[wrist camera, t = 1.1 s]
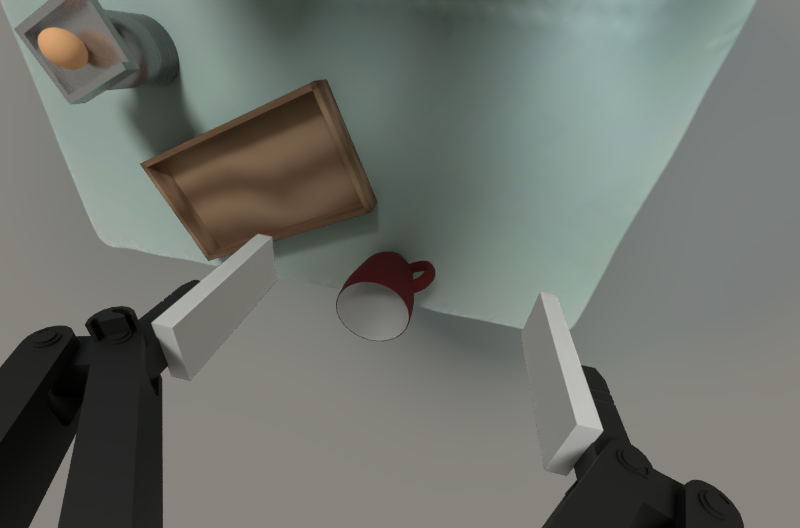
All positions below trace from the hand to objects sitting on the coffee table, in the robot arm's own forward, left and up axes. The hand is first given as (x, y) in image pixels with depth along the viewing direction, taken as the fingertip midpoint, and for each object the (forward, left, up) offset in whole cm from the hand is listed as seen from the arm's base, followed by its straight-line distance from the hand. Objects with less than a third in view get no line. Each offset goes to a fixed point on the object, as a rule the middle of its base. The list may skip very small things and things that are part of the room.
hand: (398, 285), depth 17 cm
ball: (-21, -26, -16) cm, 36 cm away
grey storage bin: (-21, -26, -23) cm, 40 cm away
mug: (+10, -9, -24) cm, 27 cm away
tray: (-5, -21, -23) cm, 31 cm away
